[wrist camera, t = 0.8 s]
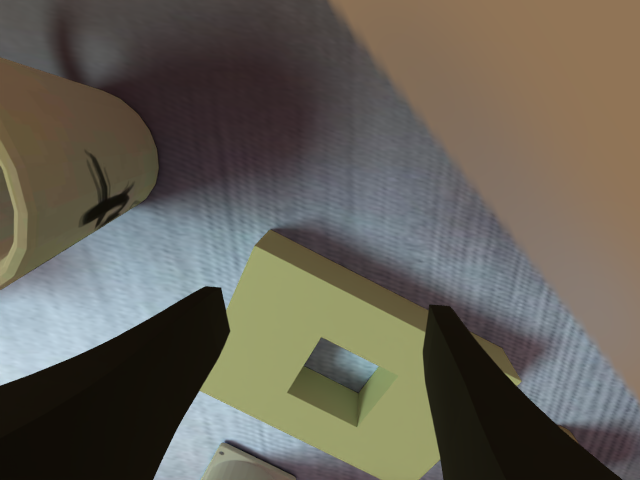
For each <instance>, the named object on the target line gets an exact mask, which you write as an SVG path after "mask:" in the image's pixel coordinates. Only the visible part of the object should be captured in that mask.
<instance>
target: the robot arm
mask: <svg viewBox="0 0 640 480" xmlns="http://www.w3.org/2000/svg"><path fill="white" fill-rule="evenodd" d="M229 333H230V327H229V322H228V318H227V313H226V308H225V304H224V299H223V294H222V290H221V288H220V287H208V286H205V287H203V288H201V289H199V290H198V291H196V292H194V293H192V294H190V295H189V296H187V297H185V298H184V299H182V300H180V301H178V302H177V303H175V304H173V305H172V306H170V307H168V308H167V309H165V310H163V311H162V312H160V313H158V314H157V315H155V316H153V317H151V318H150V319H148V320H146V321H144V322H142V323H141V324H139V325H137V326H135V327H133V328H132V329H130V330H128V331H126V332H124V333H122V334H121V335H119V336H117V337H115V338H113V339H111V340H109V341H107V342H105V343H103V344H101V345H99V346H97V347H95V348H93V349H90V350H88V351H86V352H84V353H82V354H80V355H77V356H75V357H73V358H71V359H68V360H66V361H63V362H61V363H58V364H56V365H53V366H51V367H48V368H46V369H44V370H41V371H39V372H36V373H34V374H31V375H29V376H26V377H23V378H20V379H18V380H15V381H12V382H9V383H7V384H4V385H1V386H0V480H153V479H154V476H155V474H156V472H157V470H158V468H159V465H160V463H161V461H162V459H163V457H164V455H165V453H166V451H167V449H168V446H169V444H170V442H171V440H172V438H173V436H174V434H175V432H176V430H177V428H178V426H179V424H180V423H181V421H182V419H183V417H184V415H185V414H186V412H187V410H188V409H189V407H190V405H191V404H192V402H193V400H194V399H195V397H196V395H197V394H198V392H199V390H200V389H201V387H202V386H203V384H204V382H205V381H206V379H207V377H208V376H209V374H210V372H211V370H212V369H213V367H214V365H215V364H216V362H217V360H218V358H219V357H220V354H221V352H222V350H223V348H224V346H225V343H226V341H227V338H228V336H229ZM423 365H424V376H425V385H426V390H427V395H428V400H429V405H430V410H431V415H432V420H433V425H434V430H435V435H436V440H437V445H438V450H439V454H440V460H441V466H442V472H443V479H444V480H622V479H621V478H620V477H619V476H617V475H616V474H615V473H613V472H612V471H611V470H610V469H608V468H607V467H606V466H605V465H603V464H602V463H601V462H600V461H599V460H597V459H596V458H595V457H594V456H593V455H591V454H590V453H589V452H588V451H587V450H585V449H584V448H583V447H582V446H581V445H580V444H578V443H577V442H576V441H575V440H574V439H572V438H571V437H570V436H569V435H568V434H567V433H566V432H564V431H563V430H562V429H561V428H560V427H559V426H558V425H556V424H555V423H554V422H553V421H552V420H551V419H550V418H549V417H548V416H547V415H546V414H545V413H544V412H543V411H541V410H540V409H539V408H538V407H537V406H536V405H535V404H534V403H533V402H532V401H531V400H530V399H529V398H528V397H527V396H526V395H525V394H524V393H523V392H522V391H521V390H520V389H519V388H518V387H517V386H516V385H515V384H514V383H513V382H512V381H511V380H510V378H509V377H508V376H507V375H506V374H505V373H504V372H503V371H502V370H501V369H500V368H499V366H498V365H497V364H496V363H495V362H494V361H493V359H492V358H491V357H490V356H489V355H488V354H487V352H486V351H485V350H484V349H483V348H482V347H481V345H480V344H479V343H478V342H477V340H476V339H475V338H474V337H473V335H472V334H471V333H470V332H469V330H468V329H467V328H466V326H465V325H464V324H463V322H462V321H461V320H460V318H459V317H458V316H457V314H456V313H455V312H454V310H453V309H452V308H451V307H450V306H442V305H429V311H428V318H427V325H426V332H425V338H424V345H423ZM201 480H296V478H295V477H294V476H293V475H291V474H289V473H286V472H284V471H282V470H280V469H278V468H276V467H274V466H272V465H270V464H268V463H266V462H264V461H262V460H260V459H258V458H256V457H254V456H252V455H249V454H247V453H245V452H243V451H241V450H239V449H237V448H235V447H233V446H231V445H229V444H227V443H221V444H220V445H219V447H218V449H217V451H216V453H215V455H214V456H213V458H212V460H211V462H210V464H209V466H208V467H207V469H206V471H205V473H204V475H203V477H202V478H201Z"/></svg>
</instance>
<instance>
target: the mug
mask: <svg viewBox="0 0 640 480" xmlns="http://www.w3.org/2000/svg"><path fill="white" fill-rule="evenodd" d="M158 170H159V163H158V153H157V148H156V145H155V143H154V140H153V137H152V135H151V132H150V130H149V129H148V127H147V126H146V124H145V123H144V122H143V120H142V119H141V117H140V116H139V114H138V113H136V112H135V111H134V110H133V109H132V108H131V107H129V106H128V105H127V104H126V103H125V102H124V101H122V100H121V99H120V98H118V97H115V96H113V95H111V94H109V93H107V92H104V91H102V90H99V89H96V88H93V87H90V86H87V85H84V84H81V83H78V82H74V81H71V80H68V79H65V78H62V77H59V76H56V75H53V74H50V73H47V72H44V71H41V70H37V69H34V68H31V67H28V66H25V65H22V64H19V63H16V62H13V61H10V60H7V59H3V58H0V290H1V289H3V288H5V287H6V286H8V285H10V284H11V283H13V282H14V281H16V280H18V279H19V278H21V277H22V276H24V275H26V274H27V273H29V272H30V271H32V270H34V269H35V268H37V267H39V266H40V265H42V264H43V263H45V262H47V261H48V260H50V259H51V258H53V257H55V256H56V255H58V254H59V253H61V252H63V251H64V250H66V249H67V248H69V247H71V246H72V245H74V244H76V243H77V242H79V241H80V240H82V239H84V238H85V237H87V236H88V235H90V234H92V233H93V232H95V231H96V230H98V229H100V228H101V227H103V226H105V225H106V224H108V223H109V222H111V221H113V220H114V219H116V218H117V217H119V216H121V215H122V214H124V213H125V212H127V211H129V210H130V209H132V208H133V207H135V206H136V205H138V204H139V203H141V202H142V201H144V200H145V199H146V198H147V197H148V195H149V194H150V192H151V190H152V189H153V187H154V186H155V184H156V180H157V175H158Z"/></svg>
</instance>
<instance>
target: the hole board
mask: <svg viewBox="0 0 640 480" xmlns="http://www.w3.org/2000/svg"><path fill="white" fill-rule="evenodd" d="M428 311H429V310H427V309H425V308H423V307H421V306H419V305H417V304H415V303H413V302H411V301H409V300H407V299H405V298H403V297H401V296H399V295H397V294H395V293H393V292H391V291H389V290H387V289H386V288H384V287H382V286H380V285H378V284H376V283H374V282H372V281H370V280H368V279H366V278H364V277H362V276H360V275H358V274H356V273H354V272H352V271H350V270H348V269H346V268H344V267H342V266H341V265H339V264H337V263H335V262H333V261H331V260H329V259H327V258H325V257H323V256H321V255H319V254H317V253H315V252H313V251H311V250H309V249H307V248H305V247H303V246H301V245H299V244H298V243H296V242H294V241H292V240H290V239H288V238H286V237H284V236H282V235H280V234H278V233H276V232H274V231H272V230H269V231H268V232H267V233H266V234H265V235H264V236H263V237H262V238H261V239H260V240H259V241H258V243H257V244H256V245H255V246H254V248H253V250H252V253H251V255H250V257H249V260H248V262H247V264H246V267H245V269H244V271H243V273H242V276H241V278H240V280H239V283H238V285H237V287H236V290H235V292H234V294H233V296H232V299H231V301H230V303H229V306H228V308H227V310H226V313H227V318H228V322H229V327H230V333H229V336H228V338H227V341H226V343H225V346H224V348H223V350H222V352H221V354H220V357H219V358H218V360H217V362H216V364H215V365H214V367H213V369H212V370H211V372H210V374H209V376H208V377H207V379H206V381H205V382H204V384H203V386H202V387H201V389H200V390H199V391H201V392H203V393H206V394H208V395H210V396H212V397H214V398H216V399H218V400H220V401H222V402H224V403H226V404H228V405H230V406H232V407H234V408H236V409H238V410H240V411H242V412H244V413H246V414H248V415H250V416H252V417H254V418H256V419H259V420H261V421H263V422H265V423H267V424H269V425H271V426H273V427H275V428H277V429H279V430H281V431H283V432H285V433H287V434H289V435H291V436H293V437H295V438H297V439H299V440H301V441H303V442H305V443H307V444H310V445H312V446H314V447H316V448H318V449H320V450H322V451H324V452H326V453H328V454H330V455H332V456H334V457H336V458H338V459H340V460H342V461H344V462H346V463H348V464H350V465H352V466H354V467H356V468H358V469H360V470H363V471H365V472H367V473H369V474H371V475H373V476H375V477H377V478H379V479H381V480H419V479H420V478H421V477H422V476H423V475H424V474H425V473H426V472H427V471H428V470H429V469H430V468H431V467H432V466H434V465H435V464H436V463H437V462H438V461H439V460H440V454H439V450H438V445H437V440H436V435H435V430H434V425H433V420H432V415H431V410H430V405H429V400H428V395H427V390H426V385H425V376H424V365H423V345H424V338H425V332H426V325H427V318H428ZM469 332H470V331H469ZM470 333H471V334H472V335H473V337H474V338H475V339H476V340H477V342H478V343H479V344H480V345H481V347H482V348H483V349H484V350H485V351H486V352H487V354H488V355H489V356H490V357H491V358H492V359H493V361H494V362H495V363H496V364H497V365H498V366H499V368H500V369H501V370H502V371H503V372H504V373H505V374H506V375H507V376H508V377H509V378H510V380H511V381H512V382H513V383H514V384H515V385H516V386H517V385H518V384H519V383H521V382H522V381H521V379H520V378H519V376H518V374H517V373H516V371H515V369H514V368H513V366H512V364H511V362H510V361H509V359H508V357H507V356H506V354H505V352H504V351H503V349H502V348H501V347H499V346H497V345H495V344H493V343H491V342H489V341H487V340H485V339H483V338H481V337H479V336H477V335H475V334H473V333H472V332H470ZM321 337H322V338H324V339H326V340H328V341H330V342H332V343H334V344H336V345H338V346H340V347H342V348H344V349H346V350H348V351H350V352H352V353H354V354H356V355H358V356H360V357H362V358H364V359H366V360H368V361H370V362H372V363H374V364H376V365H378V366H379V367H378V368H377V370H376V371H375V372H374V374H373V375H372V376H371V378H370V379H369V380H368V381H367V383H366V384H365V385H364V387H363V388H362V389H361V391H360V392H359V393H357V392H355V391H353V390H351V389H349V388H347V387H345V386H343V385H341V384H339V383H337V382H335V381H333V380H331V379H329V378H327V377H325V376H323V375H321V374H319V373H317V372H315V371H313V370H311V369H309V368H307V367H305V366H304V364H305V362H306V361H307V359H308V358H309V356H310V354H311V353H312V351H313V350H314V348H315V346H316V345H317V343H318V341H319V340H320V338H321Z"/></svg>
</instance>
